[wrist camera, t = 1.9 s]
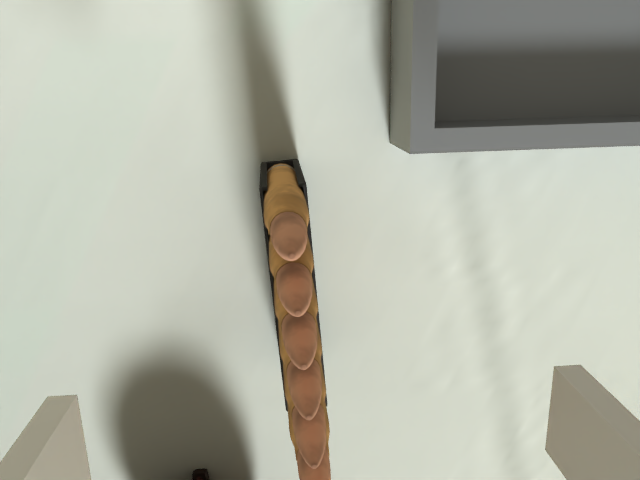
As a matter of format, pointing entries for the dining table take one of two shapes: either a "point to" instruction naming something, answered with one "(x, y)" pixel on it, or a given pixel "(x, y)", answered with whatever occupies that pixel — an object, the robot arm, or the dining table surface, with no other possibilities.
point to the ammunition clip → (296, 313)
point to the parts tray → (514, 74)
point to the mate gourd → (200, 474)
